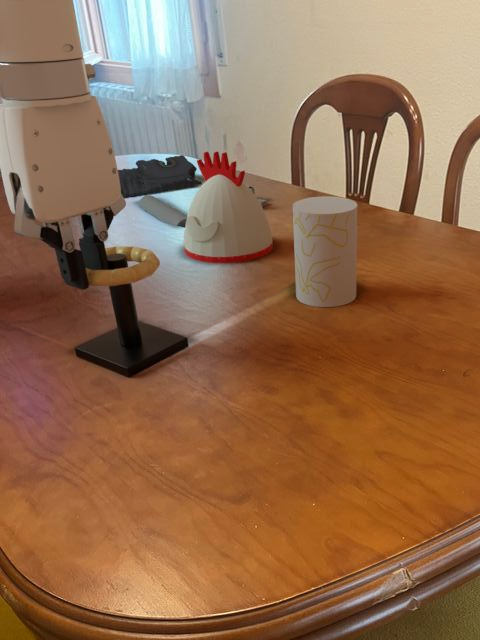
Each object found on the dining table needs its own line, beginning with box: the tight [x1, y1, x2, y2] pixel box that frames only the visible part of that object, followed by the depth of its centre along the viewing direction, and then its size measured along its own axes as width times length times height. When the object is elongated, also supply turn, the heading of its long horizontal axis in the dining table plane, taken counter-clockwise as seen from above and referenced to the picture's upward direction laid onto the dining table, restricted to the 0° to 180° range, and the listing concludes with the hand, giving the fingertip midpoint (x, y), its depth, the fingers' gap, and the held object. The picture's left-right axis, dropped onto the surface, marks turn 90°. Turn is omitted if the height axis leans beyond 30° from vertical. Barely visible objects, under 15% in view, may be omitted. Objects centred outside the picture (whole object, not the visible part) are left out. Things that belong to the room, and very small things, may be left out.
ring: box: [86, 245, 161, 287], centre depth 70 cm, size 9×9×2 cm
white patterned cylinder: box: [292, 195, 358, 308], centre depth 86 cm, size 8×8×12 cm
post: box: [73, 254, 189, 378], centre depth 73 cm, size 9×9×11 cm
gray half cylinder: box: [138, 194, 187, 228], centre depth 122 cm, size 4×20×2 cm, turn 32°
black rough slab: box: [118, 154, 202, 198], centre depth 141 cm, size 15×22×5 cm
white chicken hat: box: [183, 151, 274, 264], centre depth 100 cm, size 14×14×15 cm
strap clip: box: [246, 185, 268, 208], centre depth 124 cm, size 8×3×4 cm, turn 149°
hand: (87, 281), depth 68 cm, fingers closed on ring, 2 cm apart
